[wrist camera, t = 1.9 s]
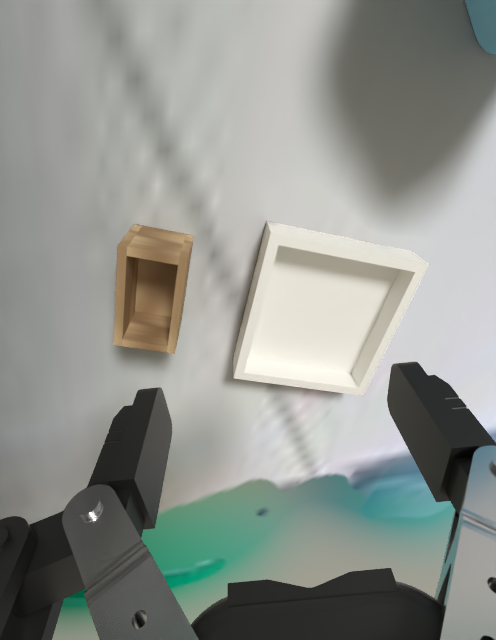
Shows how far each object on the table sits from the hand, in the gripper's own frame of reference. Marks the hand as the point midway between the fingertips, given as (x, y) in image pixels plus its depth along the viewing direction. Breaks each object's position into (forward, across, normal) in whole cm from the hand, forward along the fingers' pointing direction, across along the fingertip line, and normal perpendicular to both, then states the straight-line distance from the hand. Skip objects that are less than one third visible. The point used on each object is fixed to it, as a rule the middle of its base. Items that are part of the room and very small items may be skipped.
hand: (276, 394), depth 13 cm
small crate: (+18, +8, +3) cm, 20 cm away
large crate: (+19, -5, +7) cm, 21 cm away
